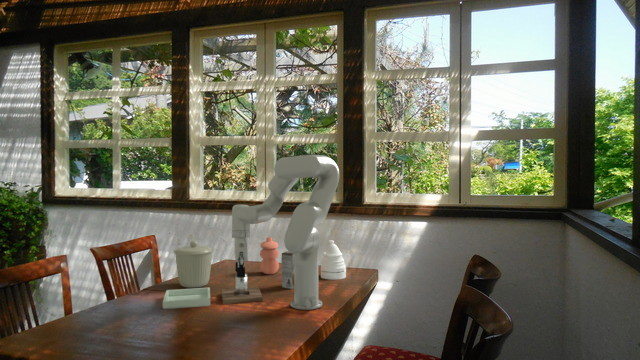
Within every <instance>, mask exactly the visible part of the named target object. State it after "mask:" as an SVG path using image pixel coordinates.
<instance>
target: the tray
mask: <svg viewBox="0 0 640 360" xmlns="http://www.w3.org/2000/svg"><path fill="white" fill-rule="evenodd" d="M198 307H200V308H201V307H211V287H196V288H180V289H166V291H165V294H164V297H163V299H162V310H169V309H170V310H171V309H173V310H174V309H186V308H198Z"/></svg>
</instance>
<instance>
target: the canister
mask: <svg viewBox="0 0 640 360" xmlns="http://www.w3.org/2000/svg"><path fill="white" fill-rule="evenodd" d="M214 251H215V250H214V249H213V248H212V247H210V246H208V245H199V242H198V241H197V240H191V241H190V242H189V245H186V246H181V247H177V248H176V250H174V251H173V253H174V255H175V261H176V262H175V263H176V270H177V278H178V283H179V285H180V286H181V287H183V288H186V289H194V288H203V287H204V286H206V285H208V284H209V281H210V277H211V268H212V260H213V252H214Z"/></svg>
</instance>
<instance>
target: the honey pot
mask: <svg viewBox="0 0 640 360" xmlns="http://www.w3.org/2000/svg"><path fill="white" fill-rule="evenodd" d="M328 243H329V246H328V248H327V249H326V251H324V252H323V253H322V255H323V259H322V262H321V265H320V278H321V279H325V280H332V281H333V280H342V279H345V278H347V266H346V263H345V259H344V257H343V253H342V252H341V250H340V248H339V247H338V246H337V244H335V240H333V239H331V240H328Z"/></svg>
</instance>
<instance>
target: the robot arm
mask: <svg viewBox="0 0 640 360" xmlns="http://www.w3.org/2000/svg"><path fill="white" fill-rule="evenodd" d="M273 170H274V174H275V175H273V177H272V178H271V179H270V181H269V182H268V184H267V187H268V190H269V191H270V192H269V195H268V196H267V198H266V199H265V200H264V201H263V203H262V204H257V205H248V204H234V205H233V206H232V209H231V238H232V239H234V258H235V272H236V274H237V277H245V273H246V267H245V262H246V263H247V262H248V261H249V260H248V259H249V257H248V255H249V253H248V252H249V251H248V250H249V249H248V248H249V247H248V245H249V244H248V239H250V236H251V234H250V233H251V225H256V224H257V225H258V224H261V223H266V222H268V221H270V220H271V219H272V218H274V217H275V215H276V214H277V213H278V211H280V209H281V207H282V206H283V203H284V201H285V198H286V195H287V194H288V193H289V192H290V191H291V189H292V188H293V186H294V185H296V183H297V182H298V181H299V179H306V178H317V179H318V180H317V181H316V183H315V184H314V187H313V188H312V191H311V194H310V196H309V199H308V201H304V202H302V203H299V204H298V205H297V206H296V208H295V209H294V210H293V212H292V215H291V217H290V220H289V223H288V226H287V227H286V228H287V229H286V231H285V234H284V238H283V241H284V243H283V244H284V246H285V248H286V250H287V251H289V252H291V253H295V261H294V289H293V290H294V297H293V299H294V300H292V301H290V307H292V308H294V309H296V310H303V311H307V310H309V311H310V310H315V309H319V308H322V306H323V302H322V300H320V299H319V259H320V258H319V257H320V256H319V255H320V254H319V253H320V247H321V234H320V232H319V230H318V229H317V228H316V227H315V226H318V225H321V224H323V222H325V221H326V217H328V212H329V210H330V207H331V205H332V202H333V199H334V196H335V194H336V192H337V189H338V185H339V181H340V170H339V167H338V165H337V163H336V162H335V160H333V159H332V158H331V157H329V156H327V155H324V154H323V155H322V154H303V155H296V156H286V157H281V158H280V159H278V160H277V161H276V162H275V164H274V168H273Z"/></svg>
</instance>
